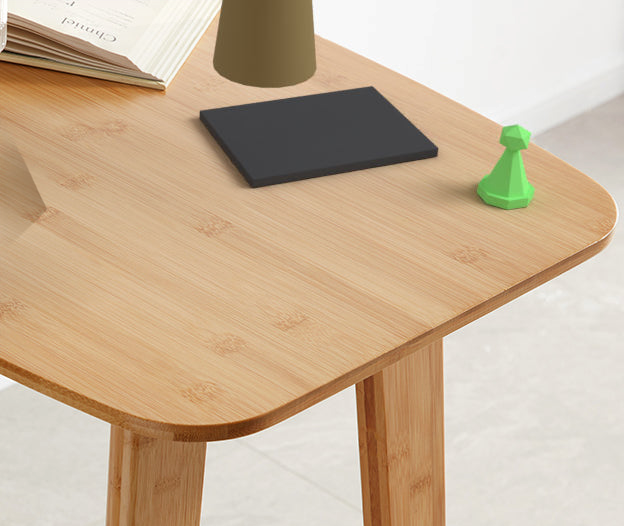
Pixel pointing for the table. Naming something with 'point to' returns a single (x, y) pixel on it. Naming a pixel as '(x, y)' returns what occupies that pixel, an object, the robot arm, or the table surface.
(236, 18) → the olive brown pawn
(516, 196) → the game piece
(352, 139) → the back mat
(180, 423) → the table surface
